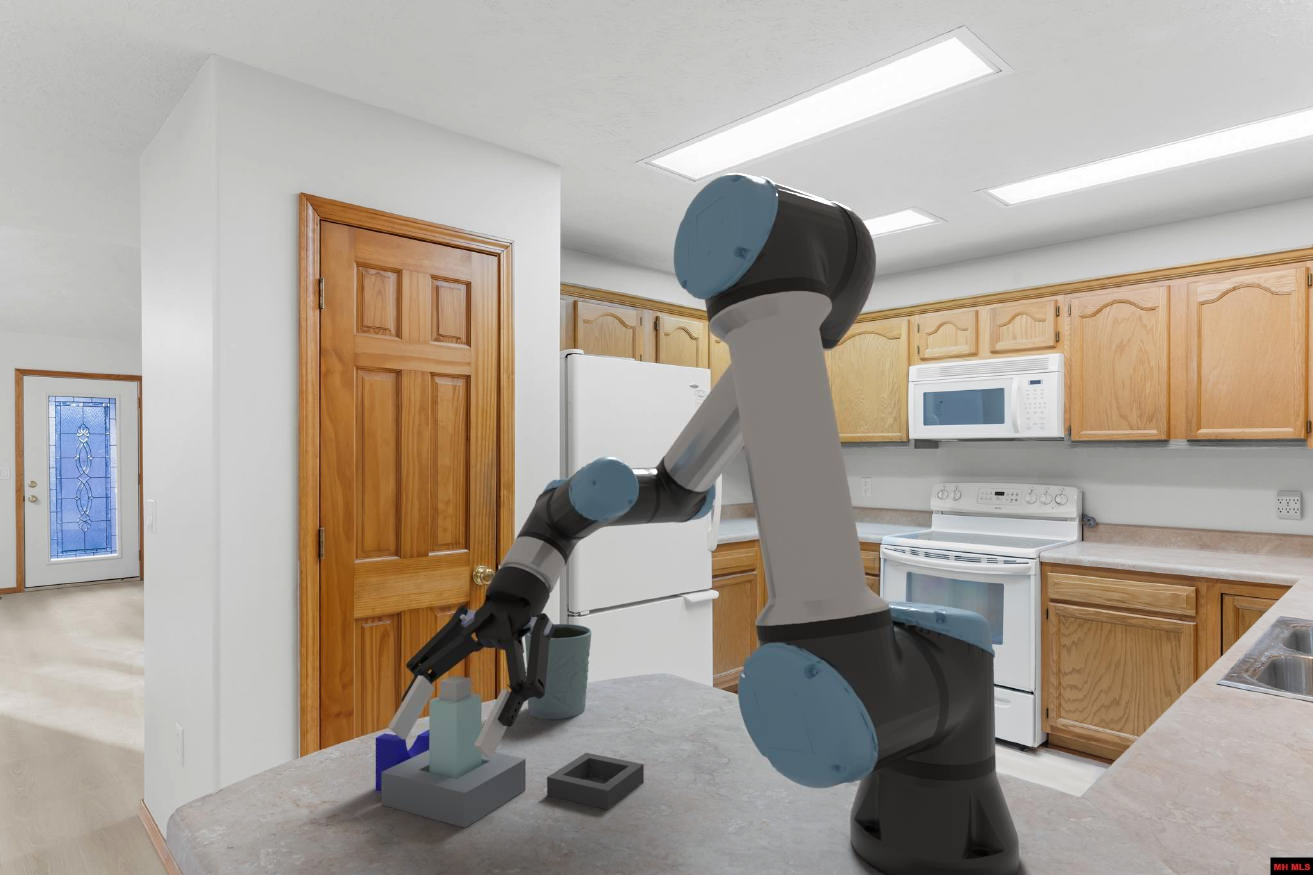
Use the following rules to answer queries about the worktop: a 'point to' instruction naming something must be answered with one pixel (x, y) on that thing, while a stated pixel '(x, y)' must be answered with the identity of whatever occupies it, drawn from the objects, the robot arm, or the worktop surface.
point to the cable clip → (396, 752)
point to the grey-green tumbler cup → (563, 673)
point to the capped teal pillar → (454, 729)
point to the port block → (453, 788)
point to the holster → (574, 788)
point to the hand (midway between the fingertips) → (438, 742)
